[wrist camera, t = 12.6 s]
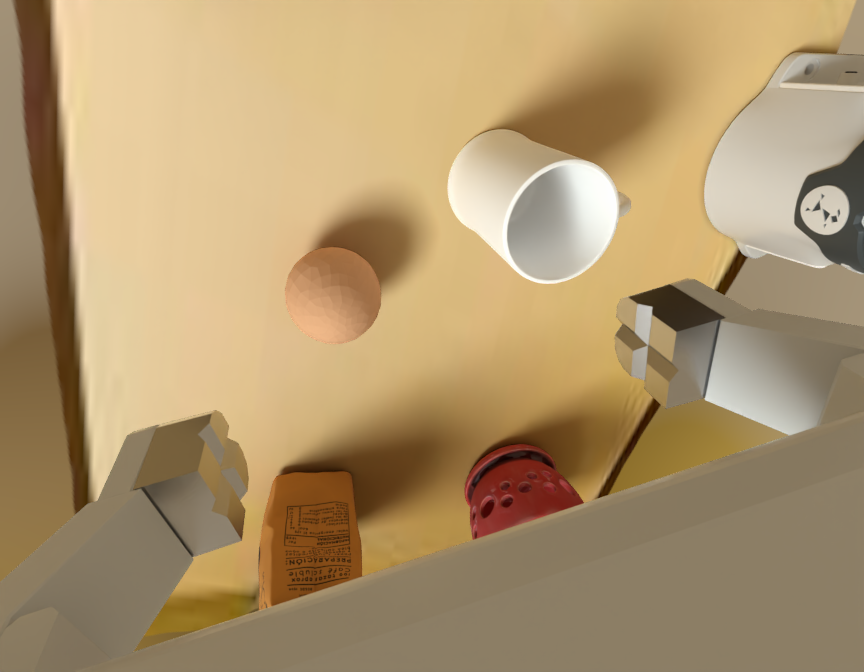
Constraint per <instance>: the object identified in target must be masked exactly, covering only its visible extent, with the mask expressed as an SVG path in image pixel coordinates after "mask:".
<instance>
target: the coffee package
mask: <svg viewBox="0 0 864 672" xmlns="http://www.w3.org/2000/svg"><path fill="white" fill-rule="evenodd" d="M359 577H362V550H361V539H360V535H359V531H358V526H357V520H356V511H355V500H354V490H353V482H352V477H351V474H350V473H348V472H345V471H338V472H320V473H303V472H294V473H290V474H286V475H279V476H277V477H276V478H275V480H274V481H273V484H272V488H271V492H270V496H269V499H268V503H267V507H266V511H265V515H264V520H263V525H262V533H261V541H260V547H259V610H262V609H265V608H268V607H271V606H274V605H277V604H280V603H283V602H286V601H289V600H292V599H295V598H298V597H302V596H305V595H308V594H311V593H314V592H317V591H320V590H323V589H326V588H329V587H332V586H335V585H338V584H341V583H344V582H347V581H350V580H353V579H356V578H359Z"/></svg>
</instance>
